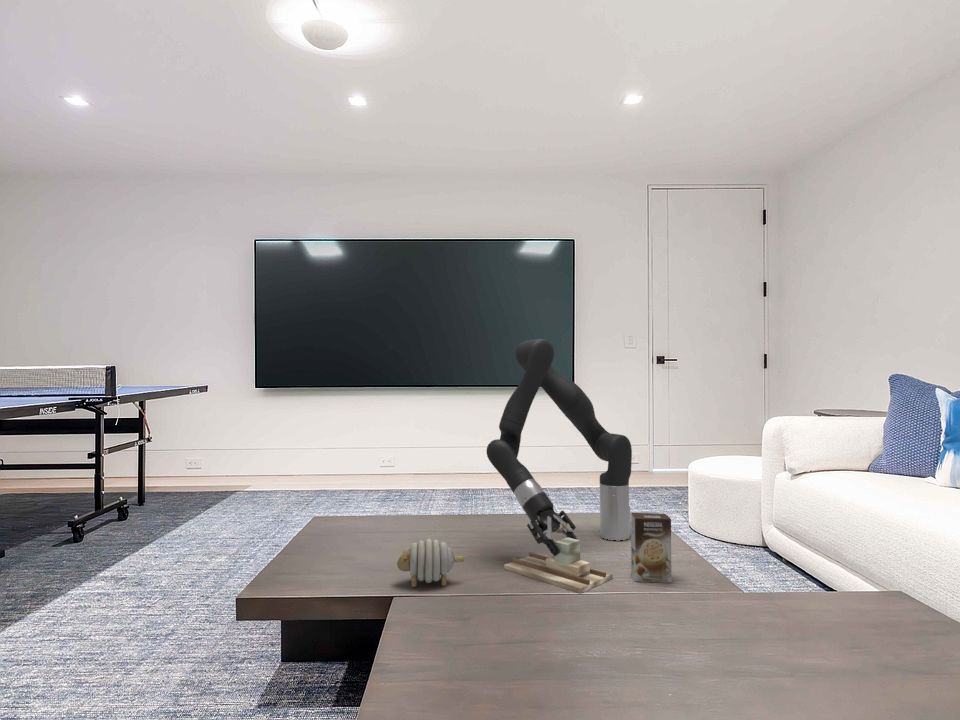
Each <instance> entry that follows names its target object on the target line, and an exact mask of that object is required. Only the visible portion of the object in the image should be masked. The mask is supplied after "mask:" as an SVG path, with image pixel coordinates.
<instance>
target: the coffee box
mask: <svg viewBox="0 0 960 720" xmlns="http://www.w3.org/2000/svg"><path fill="white" fill-rule="evenodd" d="M630 522H631V536H630V538H631V539H630V542H631V545H630V546H631V548H630V550H631V555H630V556H631V558H630V559H631V560H630V561H631V562H630V563H631V564H630V565H631V567H630V568H631V569H630V571H631V572H630V573H631V576H632V577H633V580H634V581H635V582H638V583H641V582H644V583H665V584H668V583H673V582H672V518H671V517H670V516H669V515H667V514H666V513H656V512H655V513H652V512H630Z"/></svg>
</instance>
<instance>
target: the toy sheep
mask: <svg viewBox="0 0 960 720" xmlns="http://www.w3.org/2000/svg"><path fill="white" fill-rule="evenodd" d="M463 562H465V557H464V556H463V555H454V552H453V550H452V548H451V547H450V546H448V544H447V542H445V541H441V542H440V541H439V539H434V540H432V538H427V539H425V541H424V539H420V540H419V541H418V542H412V543H411V544H410V548H409V549H407V550H403V551H402V554H401V555H400V556H399V558H398V560H397V563H396V565H397V568H398V570H399V571H401V572H409V573H410V580H412V581H411V587H412V588H413V587H414V588H416V587H417V586H418V584H417V582H418V581H420V582H423V581H424V580H425V582H426V584H430V583H433V581H434V582H439V580H440V579H441V581H440V582H441V586H442V587H446V585H447V574H448V573H450V572H451V570H452V569H453V567H454V564H455V563H463ZM417 580H418V581H417Z"/></svg>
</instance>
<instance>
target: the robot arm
mask: <svg viewBox="0 0 960 720" xmlns="http://www.w3.org/2000/svg"><path fill="white" fill-rule="evenodd" d="M514 354H515V356H514V357H515V359H516V362H517V363H518V365H519V366H520V368H521V369H522V370H523V371H524V374H523V376H522V379H521V380H520V383H519V384H518V385H517V387H516V389H515V390H514V391H513V393H512V394H511V395H510V397H509V398H508V401H507V402H506V405H505V407H504V409H503V413H502V416H501V418H500V421H499V425H498V429H499V431H500V437H499V439H498V438H497V439H493V440H491V441H490V442H489V443H488V444H487V447H486V457H487V459H488V461H489V462H490V463H491V465H492V466H493V468H495V470H496V471H497V472H498V473H499V475H501V477H502V478H503V479H504V480H505V482H506V484H507V485H508V487H509V488H510V490H511V492H512V493H513V494H514V496H515V498H516V501H517V502H518V504H519V505H520V507H521V509H522V510H523V512H524V513H525V514H526V516H527V517H528V518H529V520H530V521H529V522H528V523H527V525H526V526H527V528H528V529H529V530H528V531H530V533H531V535H532V537H533V538H534V541H535V542H536V543H537V544H543V545H545V546H546V547H547V549H548V550H549V552H550V553H551V554H552V555H553V556H557V555H558V554H559V553H560V549H559V548H558V546H557V545H556V543H555V540H554V539H553V538H552V533H558V534H561V535H563V536H565V538H567V537H568V538H572V539H576V540H579V539H578V538H577V536H576V535H575V534H574V531H575V530H576V525H575V524H574V523H573V521H572V520H571V519H570V517H569V516H568V515H567V513H566V512H565V511H564V510H561V511H560V512H558V513H556V511H554V504H553V502H552V500H551V499H550V497H548V495H547V493H546V492H545V490H543V487H542V486H541V485H540V484H539V483H538V482H537V480H535V478H534V477H533V475H532V474H531V472H530V471H529V470H528V468H527V467H526V466H525V465H524V464H523V463H521V462H520V461H519V459H518V457H519V452H520V447H521V446H520V445H521V440H522V439H521V438H522V432H523V429H524V427H525V424H526V421H527V418H528V415H529V413H530V410H531V406H532V404H533V401H534V400H535V398H536V395H537V393H538V391H539V389H540V387H541V388H542V390H543V391H544V393H546V394H547V395H548V397H549V398H550V399H551V400H552V402H553V403H554V404H555V405H556V407H557V408H558V409H559V410H560V411H561V412H562V414H563V415H564V416H565V418H567V419H568V420H569V421H570V422H571V424H572V425H573V427H575V429H576V430H577V431H578V432H579V433H580V434H581V435H582V437H583V439H585V441H586V442H587V444H588V445H589V446H590V448H591V450H592V452H594V454H595V455H596V456H597V457H598V459H600V460H602V461H604V462H607V470H606V471H605V472H603V473H601V474H600V475H599V519H600V522H599V525H600V531H599V532H600V537H601V538H602V539H603V538H604V539H603V540H607V539H608V541H613V540H616V541H615V542H619V541H620V540H623V541H627V540H626V539H628V540H630V538H631V536H630V535H631V507H630V484H629V483H630V482H629V481H630V478H631V475H632V474H631V473H632V460H633V459H632V457H633V452H632V451H633V450H632V444H631V441H630V439H629V438H628V437H627V436H626V435H623V434H618V433H613V432H612V433H611V432H608V431H607V430H606V429H605V428H604V427H603V425H602V424H601V423H600V422H599V421H598V419H597V417H596V413H595V408H594V405H593V403H592V401H591V400H590V398H589V396H588V395H587V394H586V393H585V392H584V390H583V389H582V388H581V387H580V386H579V385H578V384H576V383H575V382H574V381H572V380H571V379H569V378H568V377H566V376H565V375H563V374H562V373H561V372H559V371H557V369H556V368H555V367H553V365H552V364H553V361H554V359H555V349H554V346H553V344H552V342H550V341H549V340H547V339H545V338H536V339H529V340H528V339H527V340H525V341H521V342H520V343H518V345H517V346H516V347H515V353H514ZM568 525H569V526H568ZM620 542H621V541H620Z"/></svg>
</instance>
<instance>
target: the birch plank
mask: <svg viewBox="0 0 960 720" xmlns="http://www.w3.org/2000/svg"><path fill="white" fill-rule="evenodd" d="M550 557H551V556H549V555H545V554H541V553H538V552H537V553H536V552H532V551H529V552H528V556H526V557H522V558H520V559H519V558H516V557H512V558H511V562H509V563H505V564H504V565H503V566H504V568H503V569H504V570H506V571H509V572H512V573H515V574H518V575H522V576H526V577H528V578H531V579H534V580H538V581H540V582H543V583H547V584H549V585H553V586H556V587H559V588H563V589H566V590H569V591H571V592H574V593H579V594H582V592H583V593H585V592H587V591H589V590H591V589H593V588H596V587H597V586H600V585H601V584H604V583H606V582H608V581H610V580H613V579H614V578H613V577H614V575H613V573H611V572H607V571H603V570H602V569H601V570H600V569H596V568H592V567H590V574H589V575H587V576H584V577H582V578H581V577H578V576H574V575H571V574H567V573H564V572H561V571H557V570H554V569H550V568H547V567H546V559H547V558H550Z"/></svg>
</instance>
